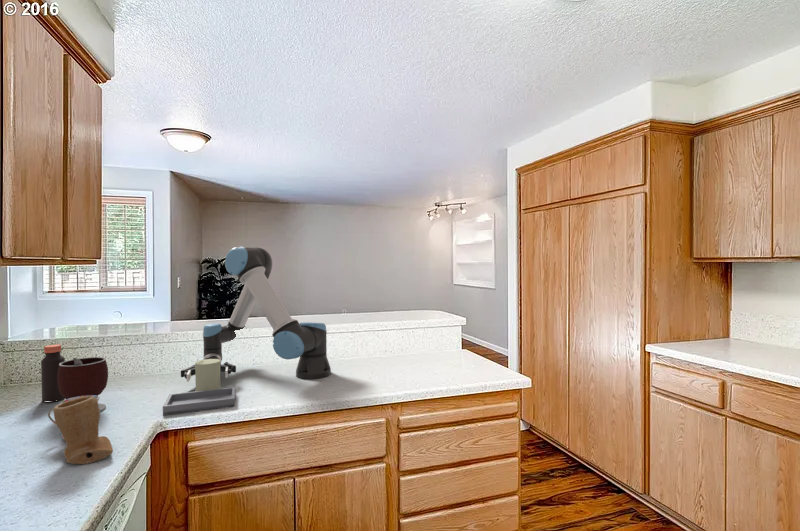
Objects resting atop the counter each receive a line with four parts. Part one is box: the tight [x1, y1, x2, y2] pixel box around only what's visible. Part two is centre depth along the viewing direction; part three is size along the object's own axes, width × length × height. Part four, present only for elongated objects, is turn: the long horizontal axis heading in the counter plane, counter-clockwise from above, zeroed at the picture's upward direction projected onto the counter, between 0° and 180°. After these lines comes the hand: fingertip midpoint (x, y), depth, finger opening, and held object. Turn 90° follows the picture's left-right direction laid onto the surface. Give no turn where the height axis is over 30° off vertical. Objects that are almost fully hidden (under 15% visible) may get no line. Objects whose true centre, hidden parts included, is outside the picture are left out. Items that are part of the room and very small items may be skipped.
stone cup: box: [52, 396, 114, 465], centre depth 112 cm, size 15×12×15 cm
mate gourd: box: [57, 356, 109, 413], centre depth 145 cm, size 16×14×20 cm
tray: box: [162, 386, 236, 416], centre depth 151 cm, size 22×14×3 cm, turn 110°
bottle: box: [40, 344, 66, 402], centre depth 158 cm, size 7×7×20 cm
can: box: [194, 358, 222, 391], centre depth 167 cm, size 9×9×12 cm
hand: (207, 376), depth 164 cm, fingers open, 13 cm apart
